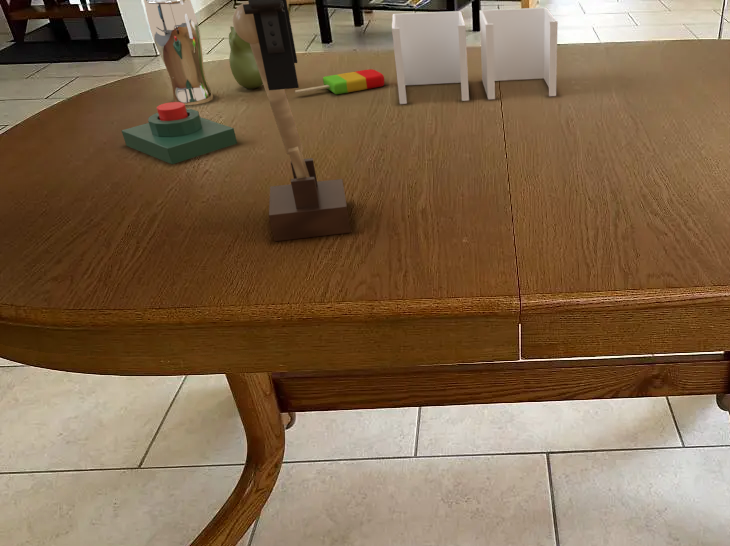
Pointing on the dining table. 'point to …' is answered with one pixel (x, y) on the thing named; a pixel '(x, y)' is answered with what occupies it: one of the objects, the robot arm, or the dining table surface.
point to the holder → (308, 207)
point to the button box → (179, 137)
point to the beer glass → (179, 48)
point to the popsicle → (350, 82)
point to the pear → (243, 62)
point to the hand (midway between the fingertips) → (283, 74)
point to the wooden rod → (273, 94)
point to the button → (172, 111)
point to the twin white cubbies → (498, 48)
